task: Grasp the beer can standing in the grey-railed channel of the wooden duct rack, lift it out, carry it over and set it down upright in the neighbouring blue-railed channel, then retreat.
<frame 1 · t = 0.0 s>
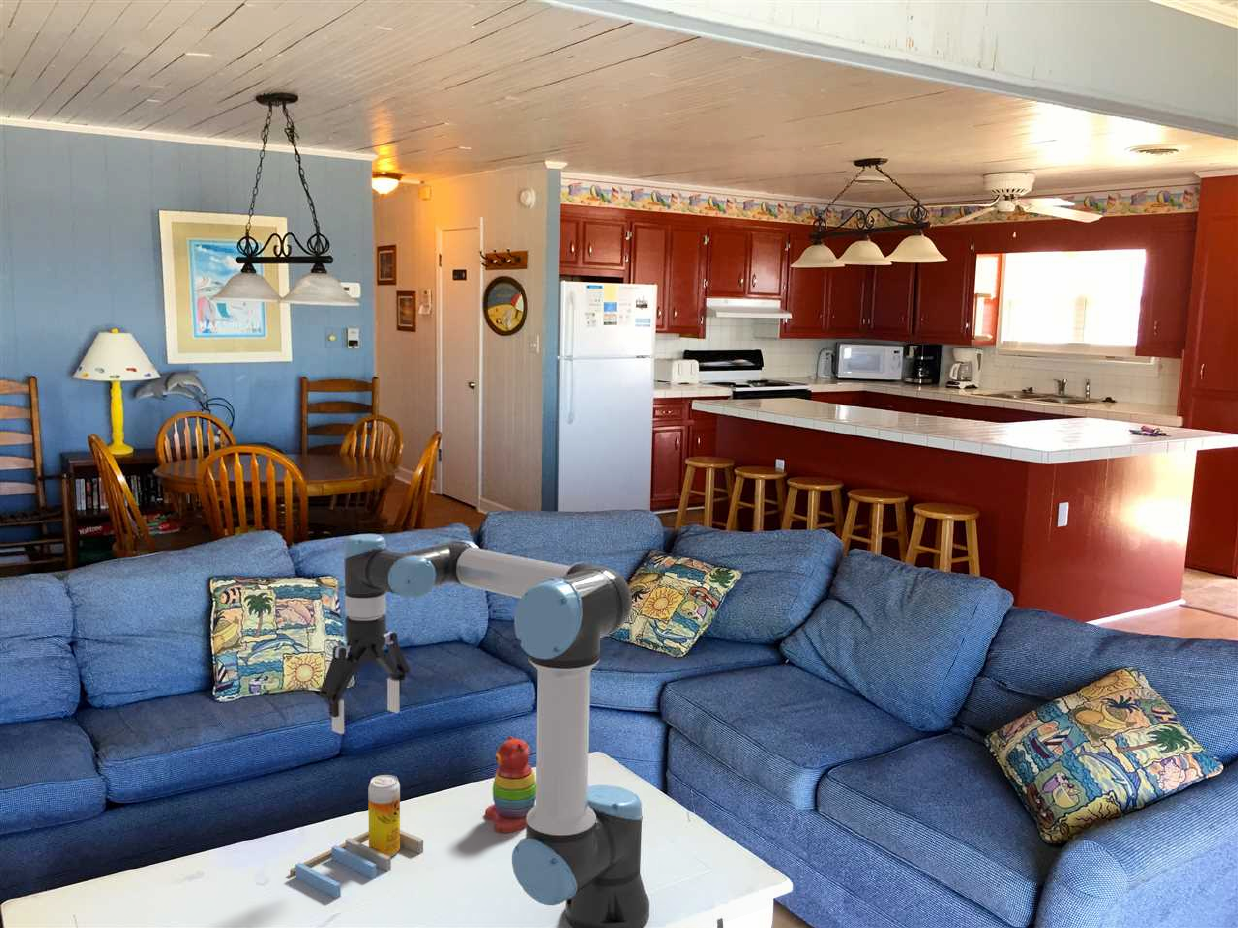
hand: (366, 721, 196), 28 cm above the table, fingers open, 13 cm apart
duct rack: (360, 863, 197), on the table
beer can: (384, 852, 202), resting in duct rack
stacking bear: (512, 820, 217), on the table
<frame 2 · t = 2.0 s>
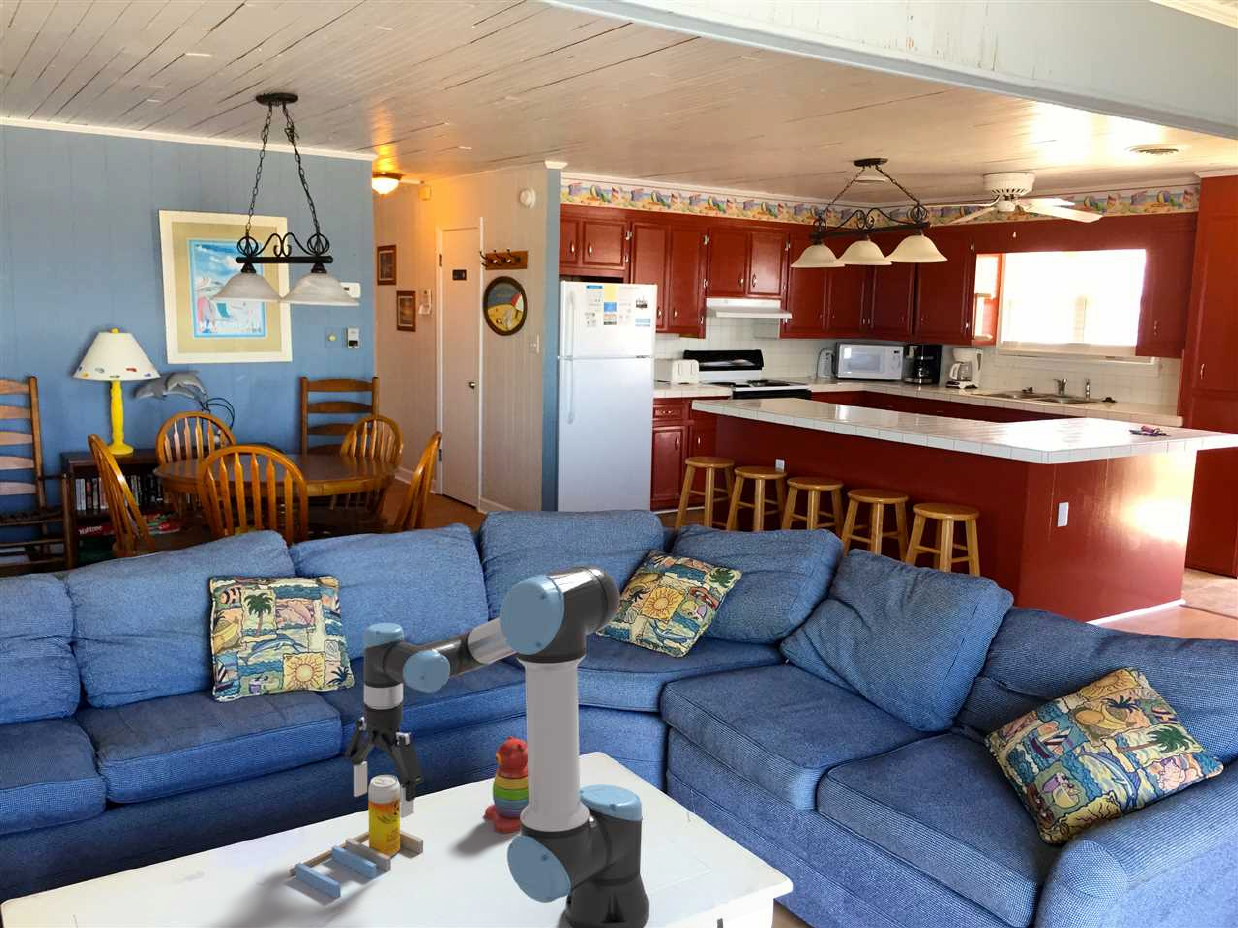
hand: (383, 804, 201), 10 cm above the table, fingers open, 13 cm apart
nothing on the table moved.
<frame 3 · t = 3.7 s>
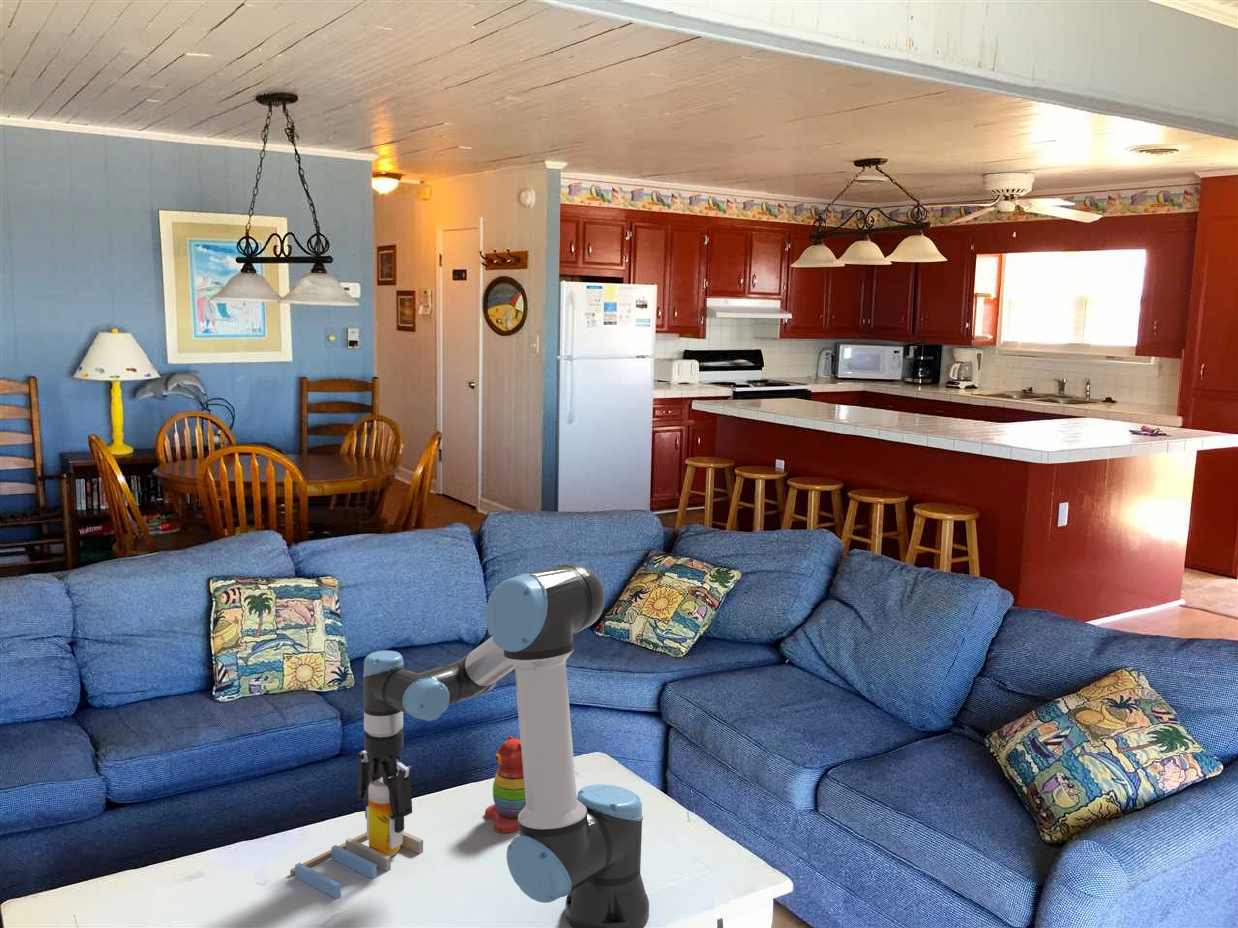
hand: (384, 840, 202), 2 cm above the table, fingers closed on beer can, 6 cm apart
beer can: (384, 852, 202), resting in duct rack, touching gripper
everything else where it was.
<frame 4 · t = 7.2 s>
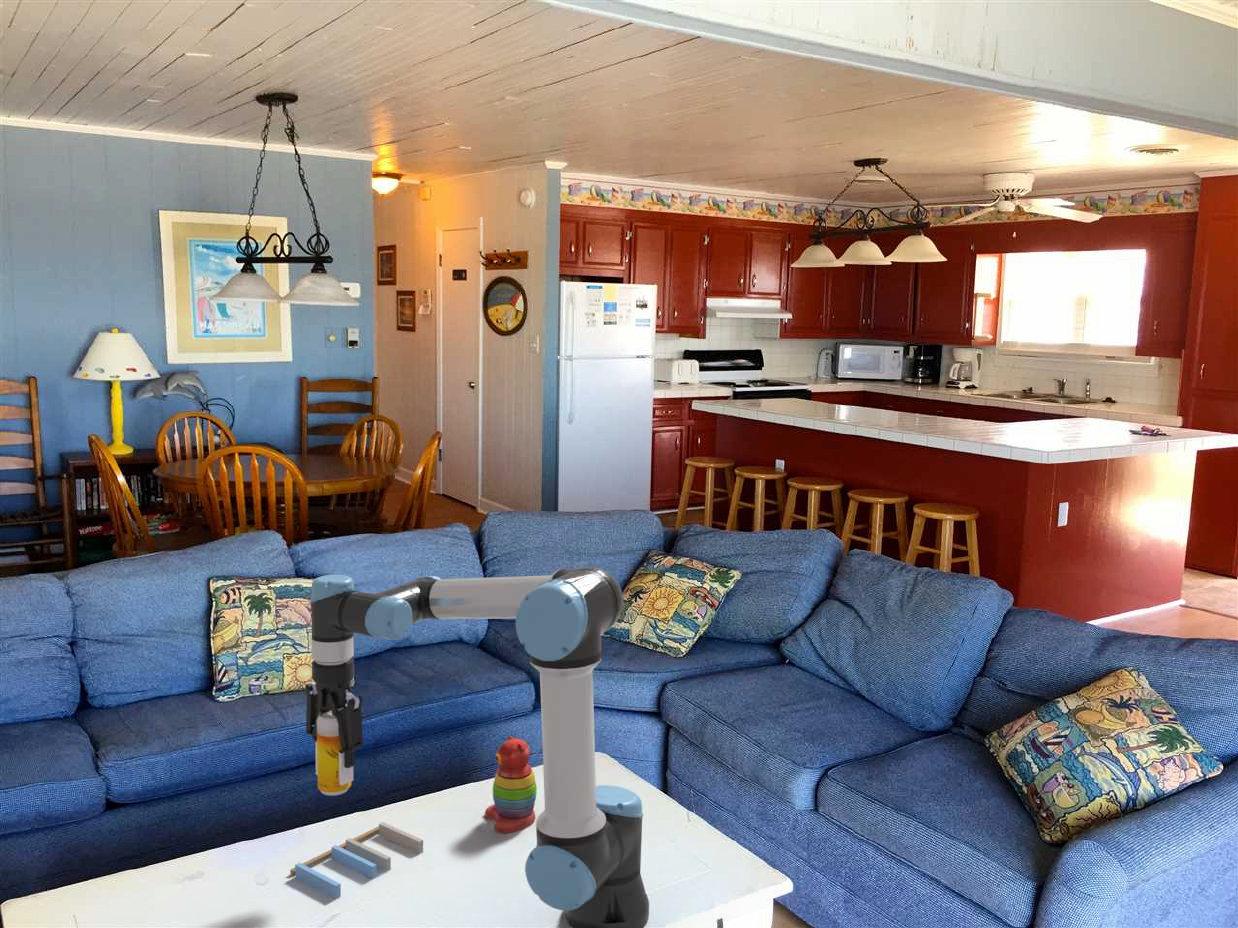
hand: (334, 777, 190), 20 cm above the table, fingers closed on beer can, 6 cm apart
beer can: (334, 790, 190), point 17 cm above the table, touching gripper
everything else where it was.
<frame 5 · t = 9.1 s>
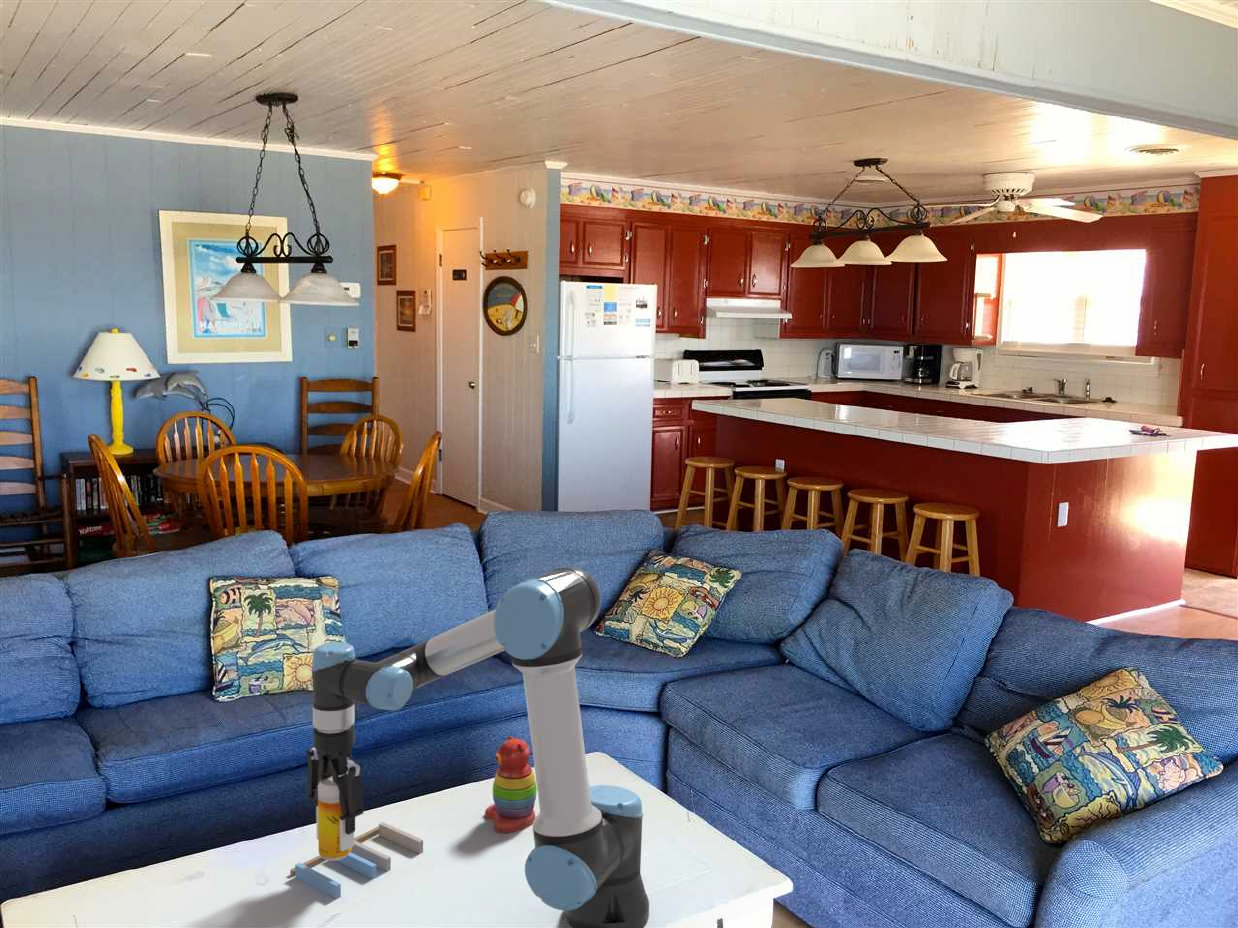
hand: (335, 841, 191), 7 cm above the table, fingers closed on beer can, 6 cm apart
beer can: (335, 854, 192), point 4 cm above the table, touching gripper
everything else where it was.
when the fingers open (4 cm above the table, at t = 10.7 s): beer can drops 1 cm, resting in duct rack.
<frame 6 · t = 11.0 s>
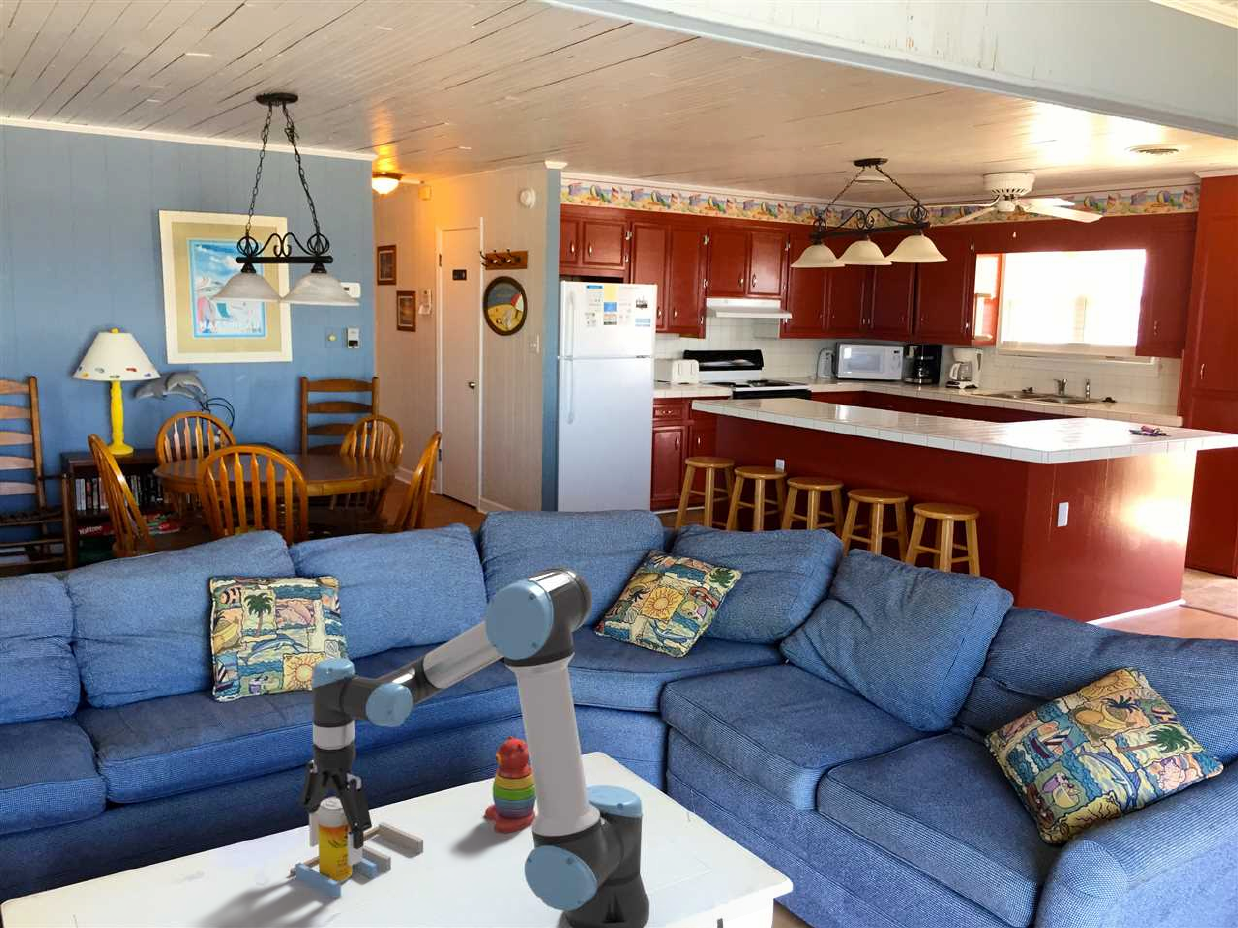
hand: (335, 852, 192), 5 cm above the table, fingers open, 10 cm apart
beer can: (336, 877, 192), resting in duct rack
everything else where it was.
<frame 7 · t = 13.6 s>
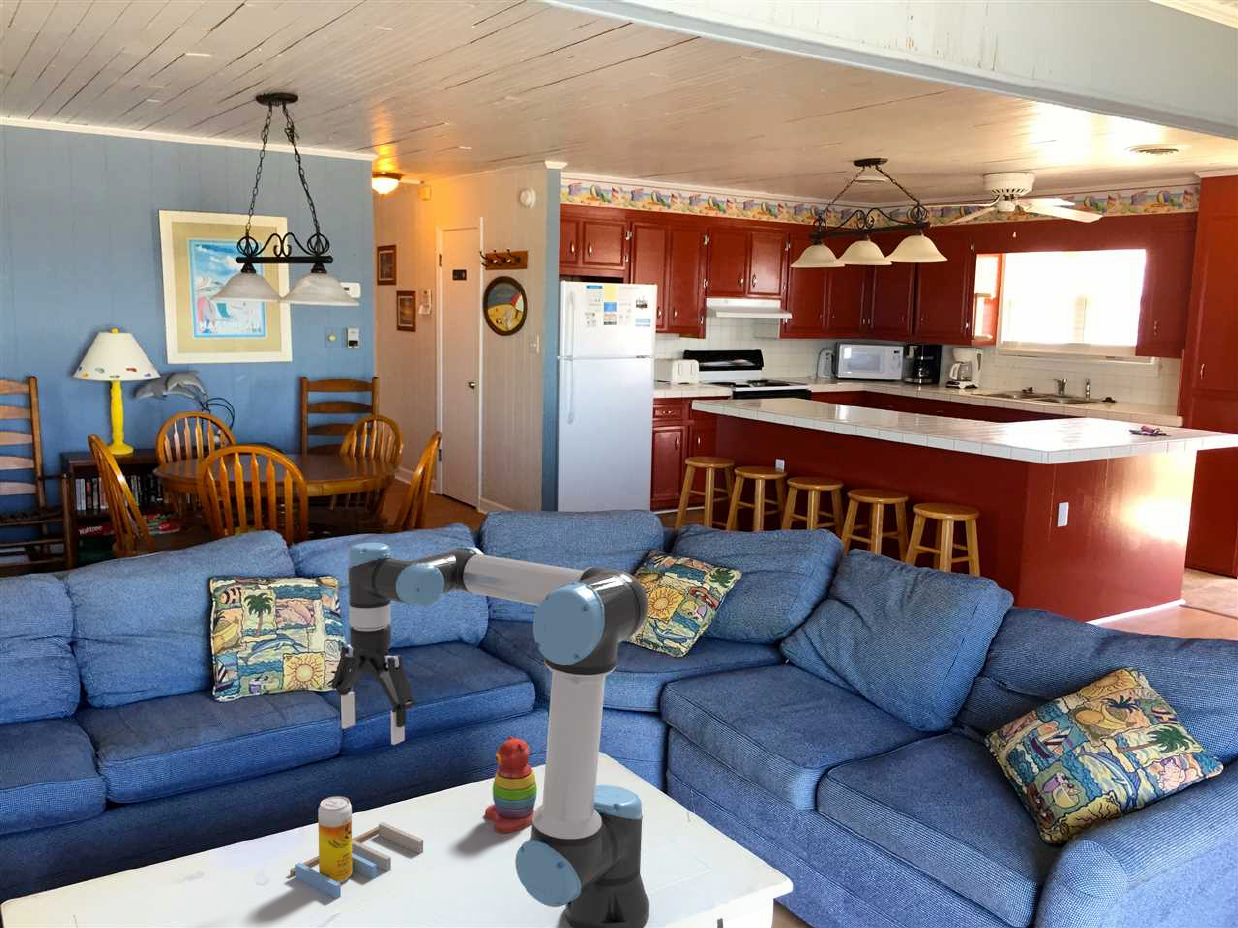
hand: (372, 734, 192), 27 cm above the table, fingers open, 13 cm apart
nothing on the table moved.
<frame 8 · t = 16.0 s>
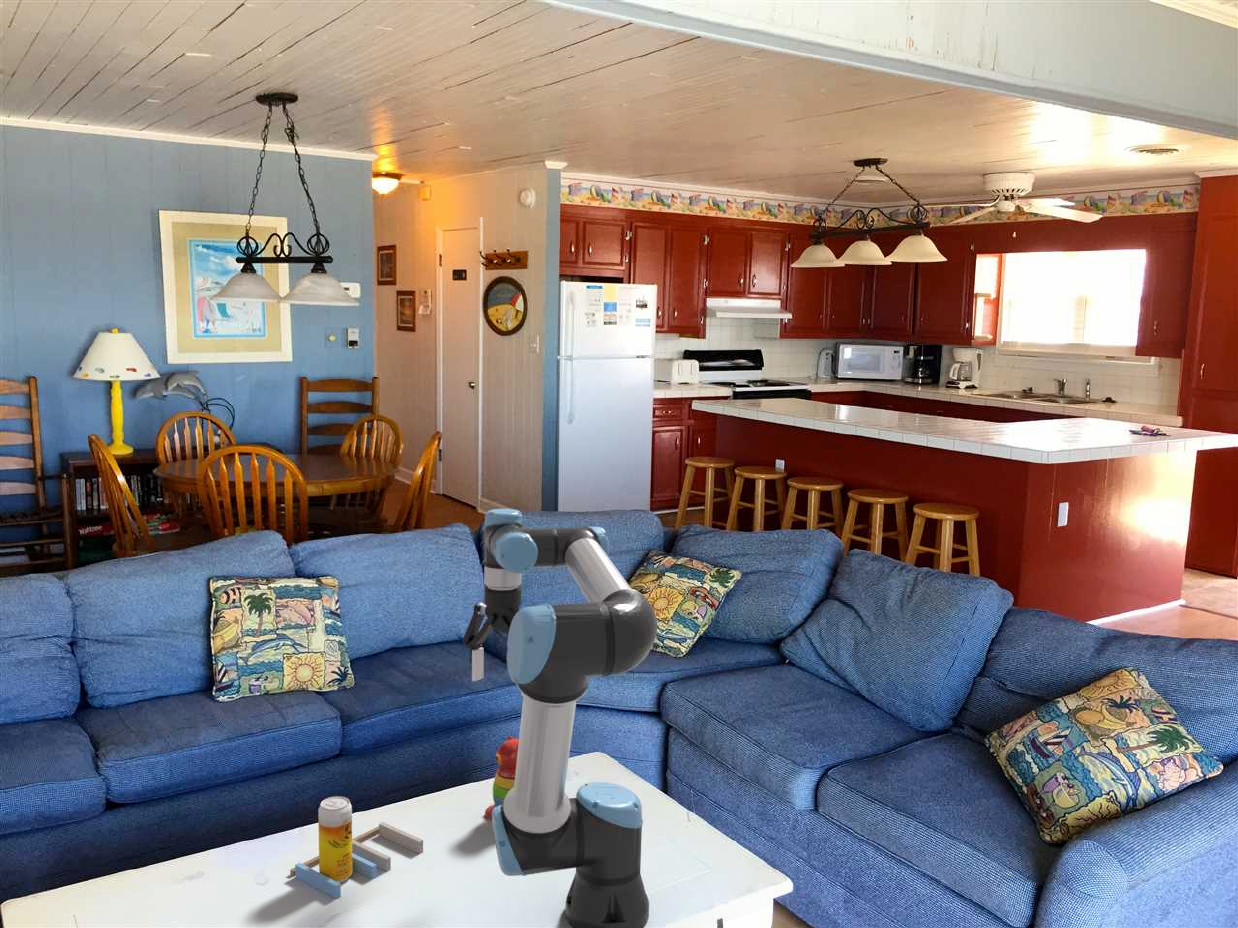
hand: (502, 686, 206), 32 cm above the table, fingers open, 13 cm apart
nothing on the table moved.
at the end: beer can inside the target area (0.0 cm from its centre), resting in duct rack; beer can tilted 0°; the gripper is holding nothing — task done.
